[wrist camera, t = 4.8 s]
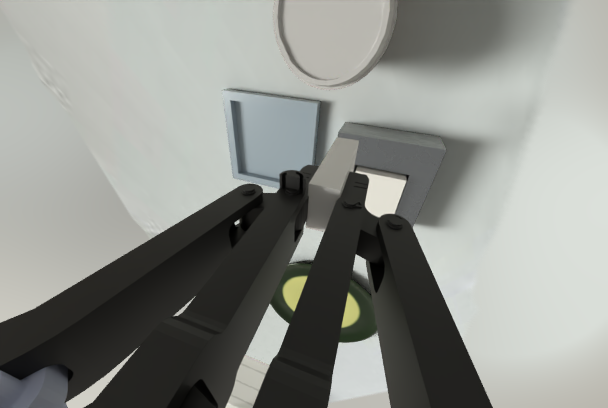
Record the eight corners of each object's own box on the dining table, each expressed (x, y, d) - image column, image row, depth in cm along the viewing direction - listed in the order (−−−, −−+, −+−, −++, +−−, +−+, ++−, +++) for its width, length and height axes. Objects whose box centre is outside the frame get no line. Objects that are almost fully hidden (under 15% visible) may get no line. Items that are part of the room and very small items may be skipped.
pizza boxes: (241, 377, 107) (218, 427, 93) (234, 348, 90) (204, 404, 76) (279, 394, 103) (261, 450, 89) (280, 367, 86) (257, 430, 71)
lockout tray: (227, 88, 34) (221, 90, 33) (320, 101, 31) (317, 103, 30) (237, 174, 43) (233, 178, 41) (311, 191, 39) (309, 195, 38)
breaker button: (360, 154, 33) (355, 170, 28) (404, 162, 31) (406, 180, 27) (353, 190, 36) (347, 209, 32) (392, 199, 35) (392, 220, 31)
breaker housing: (345, 122, 32) (335, 136, 26) (439, 136, 29) (449, 155, 24) (331, 206, 40) (321, 230, 34) (403, 224, 37) (405, 252, 32)
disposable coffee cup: (416, 24, 24) (430, 7, 15) (348, 95, 30) (327, 116, 20) (355, -55, 22) (326, -133, 13) (296, 36, 28) (245, 28, 19)
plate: (367, 346, 60) (366, 356, 58) (270, 312, 67) (266, 320, 65) (396, 278, 44) (396, 289, 43) (265, 242, 51) (260, 250, 49)
